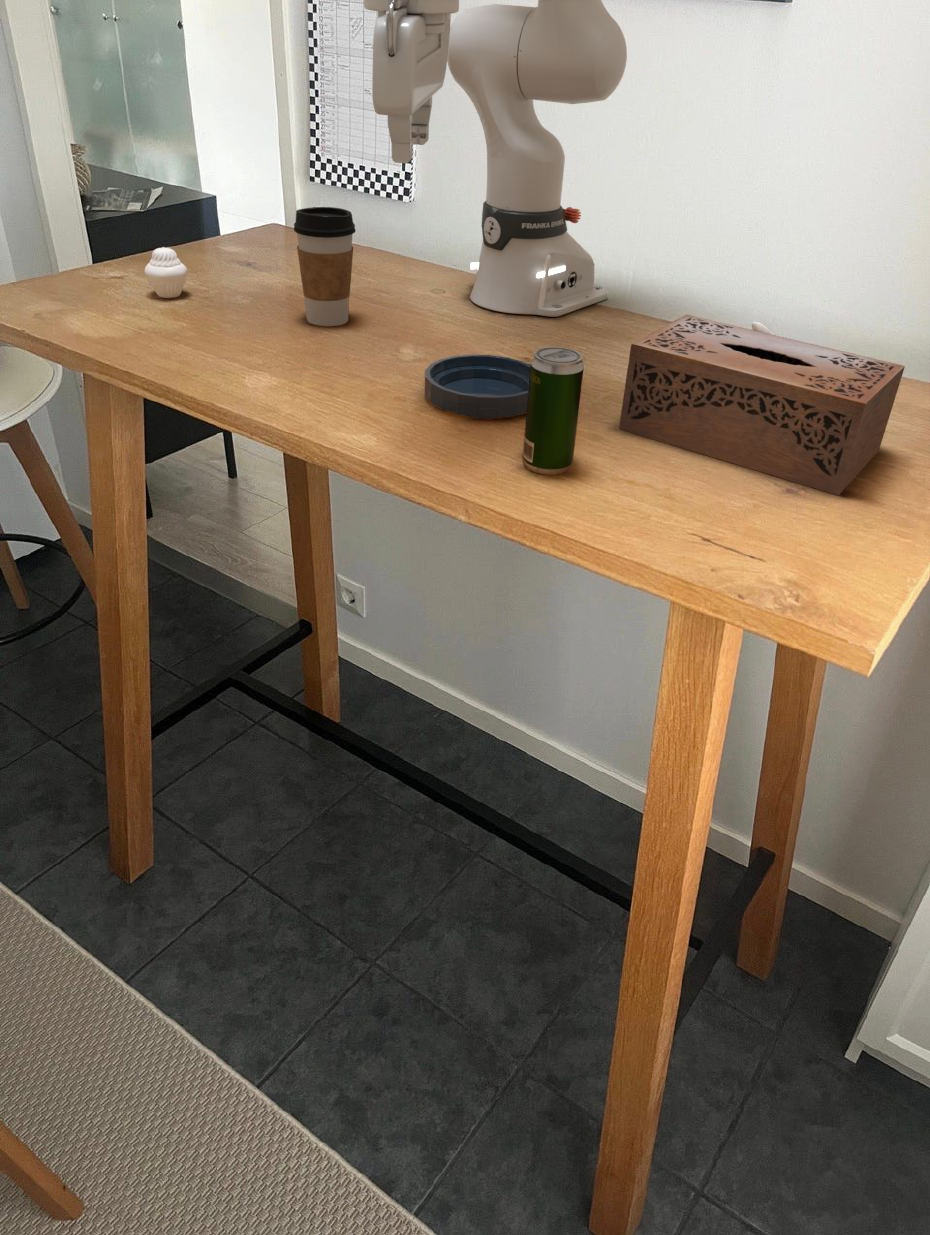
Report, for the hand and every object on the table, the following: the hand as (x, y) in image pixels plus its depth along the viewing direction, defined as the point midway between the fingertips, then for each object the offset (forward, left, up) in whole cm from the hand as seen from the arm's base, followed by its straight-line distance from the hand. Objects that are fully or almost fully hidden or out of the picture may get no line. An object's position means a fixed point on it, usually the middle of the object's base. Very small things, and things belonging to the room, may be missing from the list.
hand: (410, 152), depth 98 cm
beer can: (-5, +19, -28) cm, 34 cm away
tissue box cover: (-29, +27, -28) cm, 48 cm away
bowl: (-11, +1, -28) cm, 30 cm away
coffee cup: (-11, -34, -28) cm, 46 cm away
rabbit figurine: (-51, +13, -28) cm, 59 cm away
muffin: (+3, -56, -28) cm, 63 cm away
